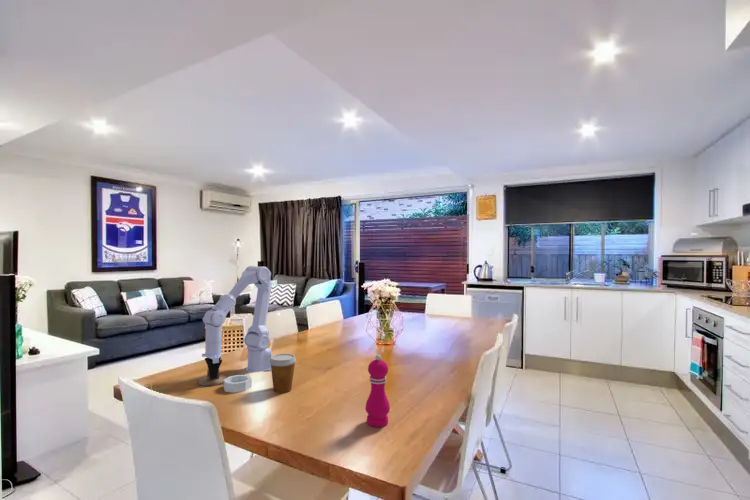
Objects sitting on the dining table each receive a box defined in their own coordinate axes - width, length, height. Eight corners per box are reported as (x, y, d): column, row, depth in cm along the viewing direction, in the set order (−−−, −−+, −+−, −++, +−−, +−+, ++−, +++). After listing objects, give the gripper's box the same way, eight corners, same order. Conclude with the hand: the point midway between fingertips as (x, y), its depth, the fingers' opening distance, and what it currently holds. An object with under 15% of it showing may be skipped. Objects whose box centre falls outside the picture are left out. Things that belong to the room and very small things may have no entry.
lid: (224, 375, 147) (225, 364, 147) (229, 383, 139) (229, 371, 139) (197, 379, 142) (197, 368, 142) (199, 388, 134) (200, 375, 134)
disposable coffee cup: (300, 387, 137) (301, 354, 137) (286, 396, 128) (287, 361, 128) (278, 384, 140) (279, 352, 140) (263, 392, 131) (263, 359, 131)
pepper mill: (364, 417, 112) (365, 351, 112) (388, 416, 113) (388, 351, 113) (366, 428, 105) (366, 358, 105) (391, 427, 105) (391, 358, 106)
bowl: (247, 382, 141) (247, 373, 141) (253, 390, 133) (253, 380, 133) (222, 386, 136) (222, 377, 136) (226, 395, 128) (226, 385, 128)
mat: (224, 376, 147) (224, 375, 147) (229, 384, 139) (229, 383, 139) (197, 380, 142) (197, 379, 142) (199, 389, 134) (199, 388, 134)
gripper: (200, 338, 145) (199, 373, 145) (204, 347, 132) (203, 385, 132) (219, 337, 148) (219, 370, 148) (225, 344, 136) (224, 381, 136)
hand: (213, 377), depth 140 cm, fingers closed on lid, 2 cm apart
